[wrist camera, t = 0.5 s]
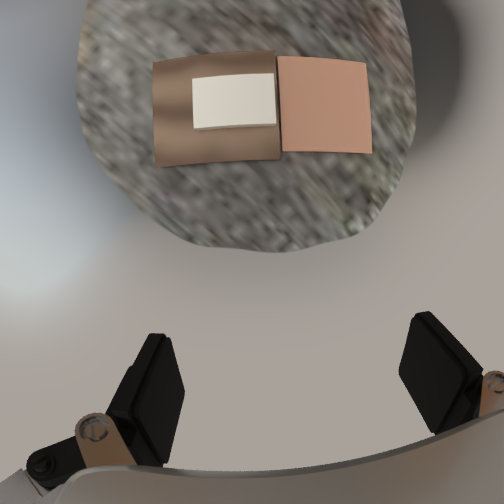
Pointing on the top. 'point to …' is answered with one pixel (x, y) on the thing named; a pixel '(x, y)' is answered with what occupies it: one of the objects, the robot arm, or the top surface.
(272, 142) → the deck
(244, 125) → the tile
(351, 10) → the top surface
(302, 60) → the mat
